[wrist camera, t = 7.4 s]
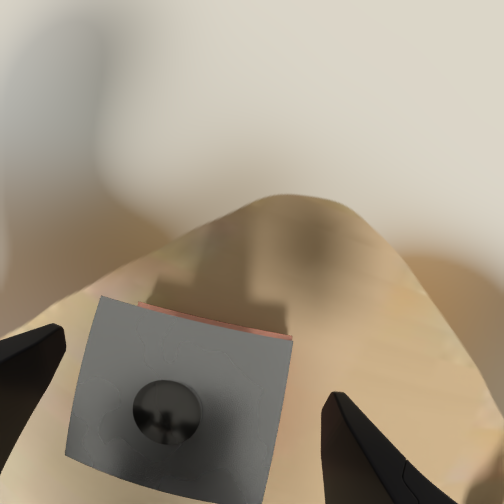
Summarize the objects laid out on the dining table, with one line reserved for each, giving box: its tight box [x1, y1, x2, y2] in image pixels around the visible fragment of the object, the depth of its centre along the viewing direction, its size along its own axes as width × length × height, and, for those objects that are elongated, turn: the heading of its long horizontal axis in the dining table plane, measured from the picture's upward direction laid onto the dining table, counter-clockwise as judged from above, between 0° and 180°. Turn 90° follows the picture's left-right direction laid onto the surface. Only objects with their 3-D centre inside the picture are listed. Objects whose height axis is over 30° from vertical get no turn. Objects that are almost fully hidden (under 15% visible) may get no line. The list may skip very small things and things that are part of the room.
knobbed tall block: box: [65, 296, 293, 504], centre depth 11 cm, size 4×5×13 cm
